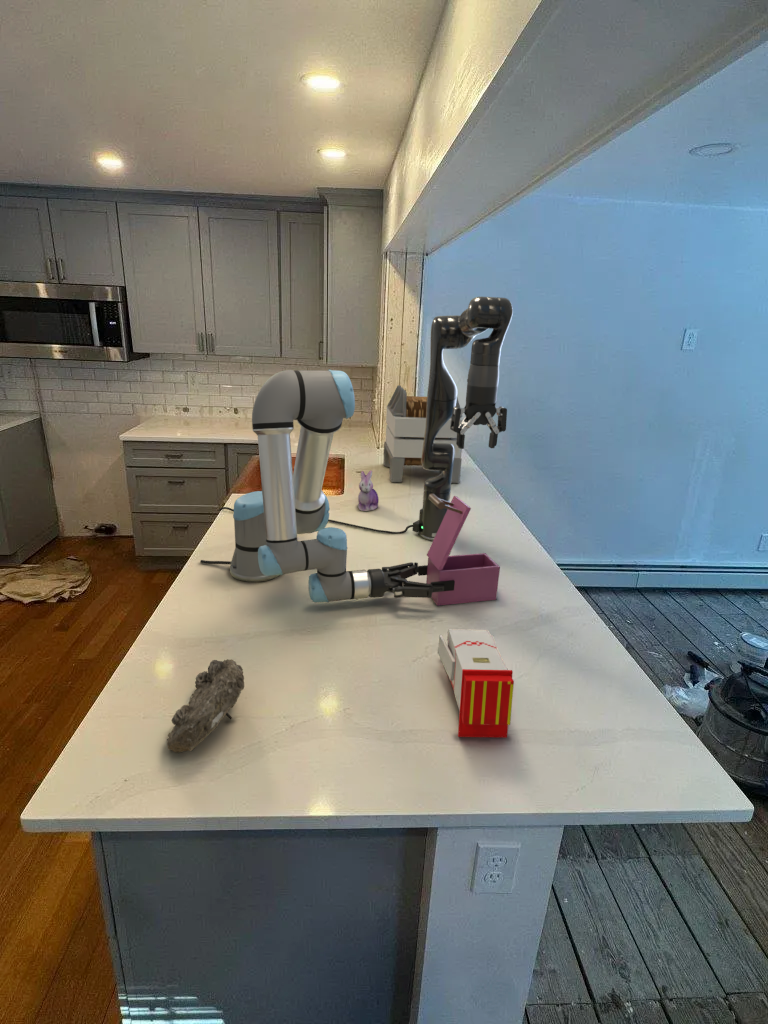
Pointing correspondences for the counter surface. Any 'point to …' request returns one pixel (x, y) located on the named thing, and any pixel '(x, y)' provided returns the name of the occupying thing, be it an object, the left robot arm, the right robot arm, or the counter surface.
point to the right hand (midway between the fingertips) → (476, 448)
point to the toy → (478, 682)
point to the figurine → (367, 493)
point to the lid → (447, 529)
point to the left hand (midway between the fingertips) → (446, 576)
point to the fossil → (206, 705)
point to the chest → (465, 579)
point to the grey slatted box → (413, 435)
